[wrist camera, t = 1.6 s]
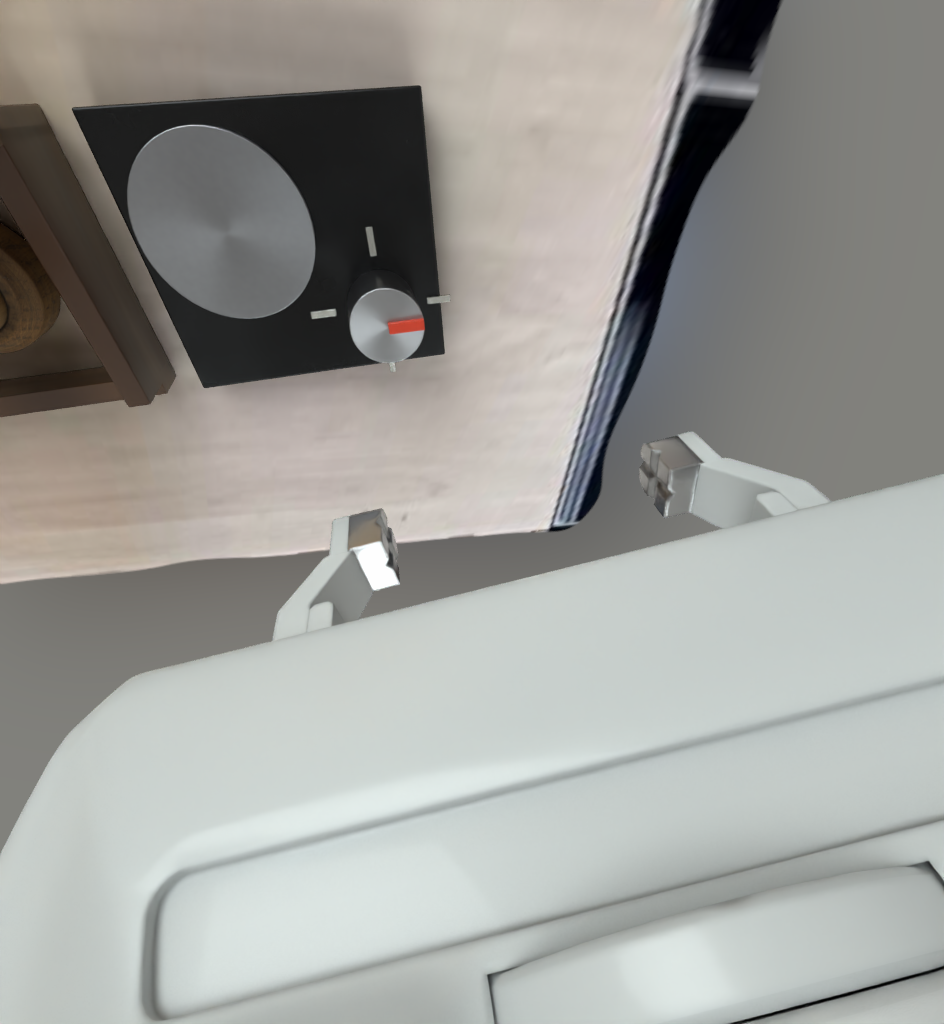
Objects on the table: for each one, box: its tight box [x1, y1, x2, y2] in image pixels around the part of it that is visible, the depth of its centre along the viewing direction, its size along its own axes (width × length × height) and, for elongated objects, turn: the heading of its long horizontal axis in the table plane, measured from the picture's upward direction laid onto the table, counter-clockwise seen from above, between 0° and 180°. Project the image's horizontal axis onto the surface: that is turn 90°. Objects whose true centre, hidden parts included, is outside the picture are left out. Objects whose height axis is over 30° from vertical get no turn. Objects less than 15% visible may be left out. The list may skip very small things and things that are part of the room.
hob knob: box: [347, 269, 425, 363], centre depth 26 cm, size 4×4×4 cm
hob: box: [72, 85, 451, 388], centre depth 26 cm, size 16×14×3 cm
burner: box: [127, 124, 316, 319], centre depth 24 cm, size 8×8×1 cm
